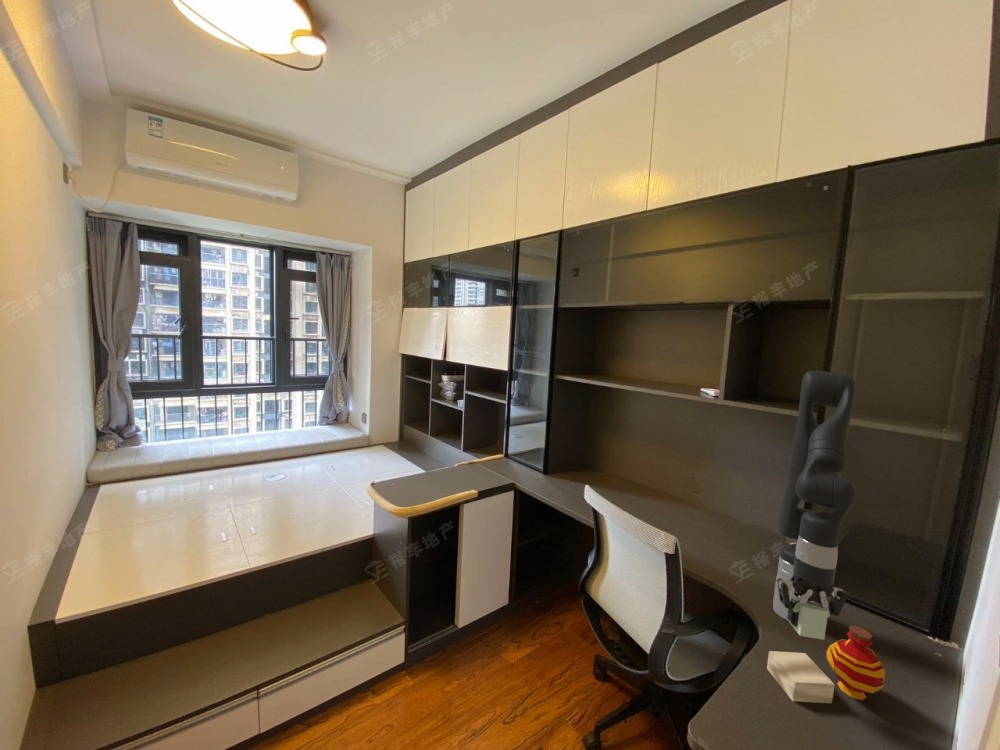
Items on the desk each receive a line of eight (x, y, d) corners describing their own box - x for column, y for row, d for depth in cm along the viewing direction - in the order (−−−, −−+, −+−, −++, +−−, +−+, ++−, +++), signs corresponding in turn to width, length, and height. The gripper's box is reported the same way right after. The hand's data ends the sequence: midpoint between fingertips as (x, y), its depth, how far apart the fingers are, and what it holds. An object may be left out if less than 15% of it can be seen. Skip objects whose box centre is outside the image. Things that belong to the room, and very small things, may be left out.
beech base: (766, 669, 100) (769, 651, 99) (802, 671, 100) (805, 653, 99) (792, 702, 91) (795, 682, 91) (831, 704, 91) (834, 684, 90)
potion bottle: (852, 671, 100) (860, 616, 99) (893, 710, 90) (904, 649, 88) (812, 671, 100) (819, 615, 98) (849, 710, 89) (858, 648, 88)
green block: (788, 620, 97) (792, 593, 96) (811, 624, 96) (815, 597, 95) (800, 635, 92) (803, 607, 91) (824, 639, 91) (828, 611, 90)
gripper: (839, 554, 95) (830, 620, 96) (773, 545, 97) (765, 610, 99) (862, 572, 87) (851, 644, 89) (789, 562, 90) (780, 632, 91)
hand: (806, 626), depth 94 cm, fingers closed on green block, 5 cm apart
